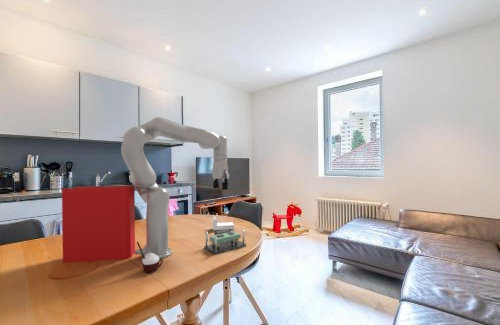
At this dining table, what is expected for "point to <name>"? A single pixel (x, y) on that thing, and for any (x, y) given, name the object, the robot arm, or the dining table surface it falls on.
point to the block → (221, 231)
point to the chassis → (224, 244)
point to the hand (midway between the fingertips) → (220, 188)
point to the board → (225, 237)
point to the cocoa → (150, 261)
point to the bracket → (221, 225)
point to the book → (98, 223)
